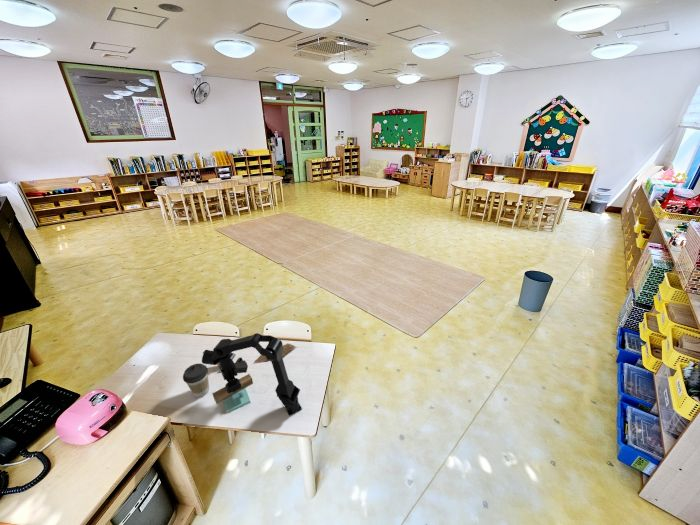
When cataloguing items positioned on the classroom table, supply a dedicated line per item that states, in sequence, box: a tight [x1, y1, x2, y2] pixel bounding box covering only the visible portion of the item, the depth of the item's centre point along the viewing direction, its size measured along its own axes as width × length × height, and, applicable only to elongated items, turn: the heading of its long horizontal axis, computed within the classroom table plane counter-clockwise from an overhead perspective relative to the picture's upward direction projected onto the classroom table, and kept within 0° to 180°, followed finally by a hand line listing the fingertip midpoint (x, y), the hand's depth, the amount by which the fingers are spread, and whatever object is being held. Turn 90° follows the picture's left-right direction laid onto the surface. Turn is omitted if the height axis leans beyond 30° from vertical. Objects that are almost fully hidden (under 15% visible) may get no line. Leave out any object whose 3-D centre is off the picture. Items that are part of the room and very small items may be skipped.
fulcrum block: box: [223, 387, 251, 414], centre depth 146 cm, size 11×11×6 cm
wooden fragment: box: [253, 343, 297, 364], centre depth 175 cm, size 26×11×1 cm, turn 116°
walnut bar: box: [212, 373, 254, 405], centre depth 143 cm, size 4×18×4 cm, turn 130°
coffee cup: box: [182, 363, 210, 398], centre depth 149 cm, size 11×11×15 cm
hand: (233, 388), depth 144 cm, fingers open, 5 cm apart
